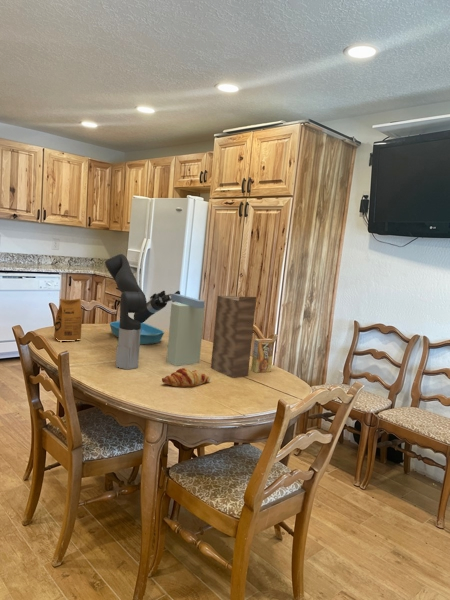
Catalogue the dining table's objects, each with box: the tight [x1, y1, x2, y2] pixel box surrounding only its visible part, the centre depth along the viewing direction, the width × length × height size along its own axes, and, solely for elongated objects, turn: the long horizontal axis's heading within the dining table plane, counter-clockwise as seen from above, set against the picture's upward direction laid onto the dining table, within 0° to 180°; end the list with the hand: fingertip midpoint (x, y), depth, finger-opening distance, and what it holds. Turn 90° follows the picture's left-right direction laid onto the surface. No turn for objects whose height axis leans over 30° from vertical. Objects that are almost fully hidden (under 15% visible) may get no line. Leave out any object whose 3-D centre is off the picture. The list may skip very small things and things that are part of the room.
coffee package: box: [53, 298, 83, 340], centre depth 221 cm, size 10×12×22 cm
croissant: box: [161, 367, 211, 388], centre depth 172 cm, size 21×10×8 cm, turn 119°
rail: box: [170, 293, 206, 309], centre depth 199 cm, size 23×3×3 cm, turn 39°
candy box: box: [250, 338, 275, 374], centre depth 199 cm, size 9×4×15 cm, turn 119°
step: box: [166, 302, 205, 367], centre depth 200 cm, size 7×14×28 cm, turn 129°
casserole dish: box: [109, 320, 165, 345], centre depth 241 cm, size 37×22×7 cm, turn 41°
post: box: [210, 295, 257, 379], centre depth 192 cm, size 16×9×36 cm, turn 39°
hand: (172, 292), depth 210 cm, fingers open, 8 cm apart
